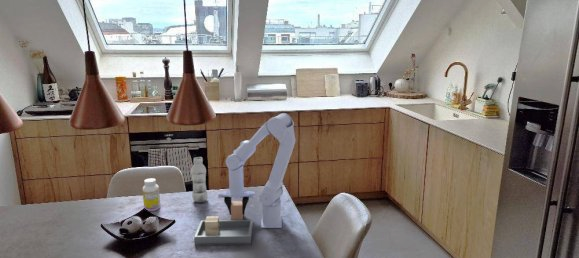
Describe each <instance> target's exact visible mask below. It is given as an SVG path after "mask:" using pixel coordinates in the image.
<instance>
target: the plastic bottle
mask: <svg viewBox="0 0 579 258" xmlns="http://www.w3.org/2000/svg"><path fill="white" fill-rule="evenodd" d="M203 161H204V160H203V157H202V156H197V157H193V165H192V166H191V168H190V173H191V179H192V200H193V202H195V203H204V202H206V201H207V200H208V197H209V195H208V191H207V185H206V184H207V183H206V180H207V179H206V176H207V169H206V166H205V165H204V164H203Z"/></svg>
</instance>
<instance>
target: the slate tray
mask: <svg viewBox="0 0 579 258" xmlns="http://www.w3.org/2000/svg"><path fill="white" fill-rule="evenodd" d="M205 220H206V219H204V220H200V222H199V224H198V227H197V230H196V232H195V235H194V238H193V239H194V246H195V247H200V246H202V247H203V246H205V247H206V246H207V247H208V246H210V247H212V246H214V247H217V246H219V247H220V246H224V247H225V246H251V245H252V236H253V223H254V222H253V219H242V220H231V219H225V220H224V219H219V230H220V231H219V235H217V236H205Z"/></svg>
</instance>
